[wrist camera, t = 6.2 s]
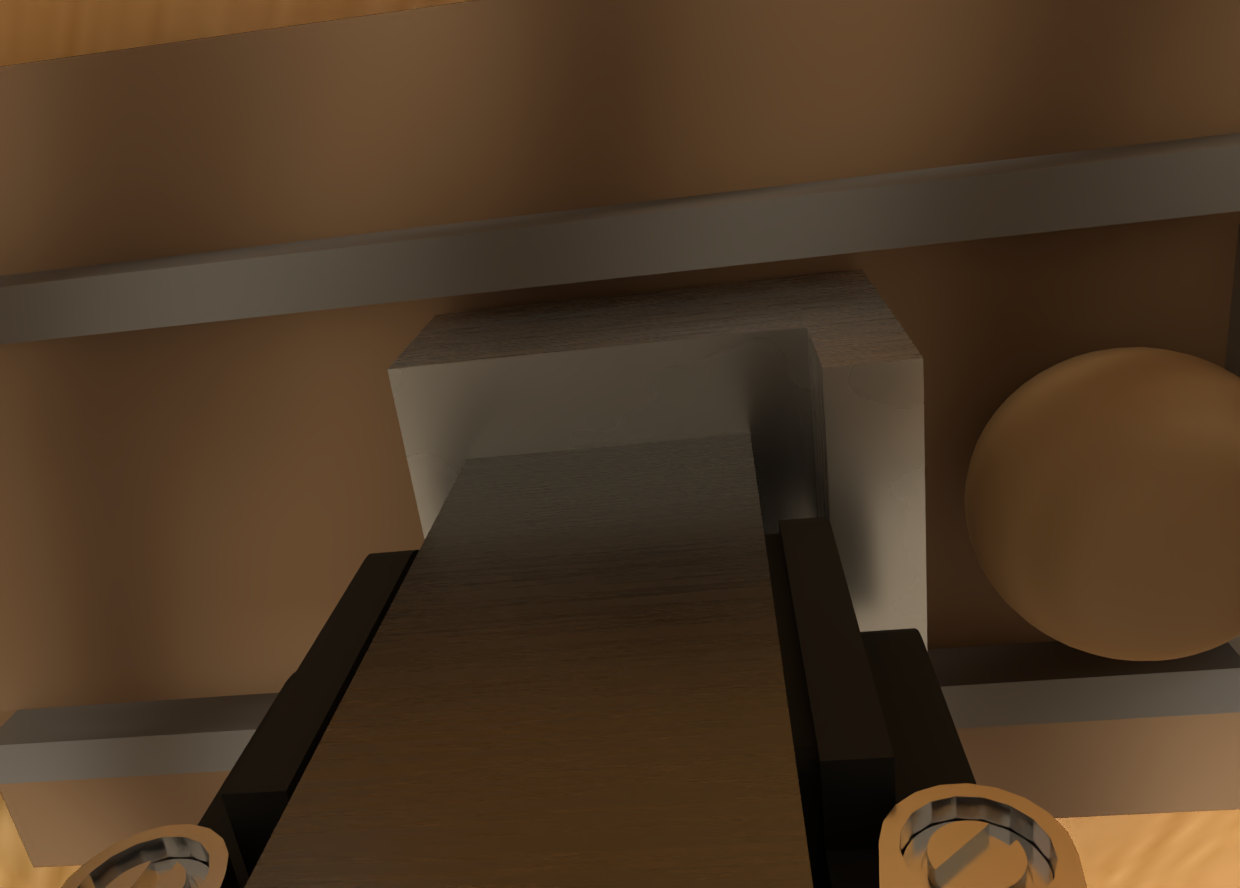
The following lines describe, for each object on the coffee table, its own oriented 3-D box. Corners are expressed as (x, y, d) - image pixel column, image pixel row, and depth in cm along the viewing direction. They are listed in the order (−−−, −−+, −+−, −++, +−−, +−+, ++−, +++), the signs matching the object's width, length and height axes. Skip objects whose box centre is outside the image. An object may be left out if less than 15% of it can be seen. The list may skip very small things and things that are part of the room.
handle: (862, 269, 14) (1247, 827, 4) (875, 642, 16) (1147, 1567, 6) (435, 315, 15) (-71, 890, 5) (504, 667, 17) (250, 1542, 7)
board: (1456, -132, 13) (2084, -258, 7) (1317, 744, 18) (1617, 1091, 12) (-212, 100, 16) (-765, 148, 10) (77, 811, 21) (-169, 1126, 15)
